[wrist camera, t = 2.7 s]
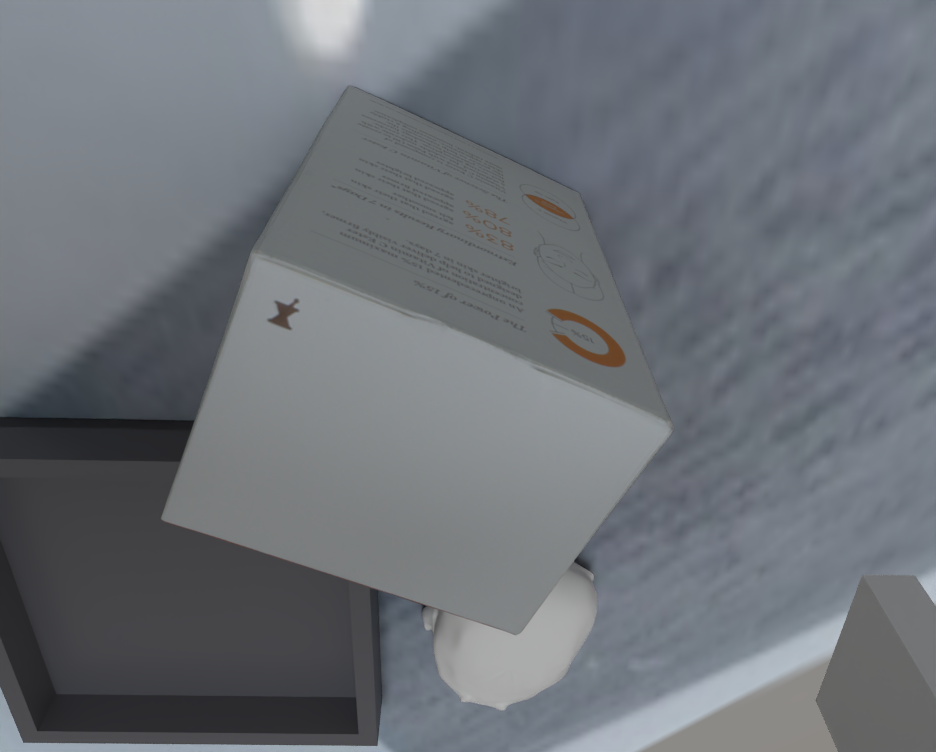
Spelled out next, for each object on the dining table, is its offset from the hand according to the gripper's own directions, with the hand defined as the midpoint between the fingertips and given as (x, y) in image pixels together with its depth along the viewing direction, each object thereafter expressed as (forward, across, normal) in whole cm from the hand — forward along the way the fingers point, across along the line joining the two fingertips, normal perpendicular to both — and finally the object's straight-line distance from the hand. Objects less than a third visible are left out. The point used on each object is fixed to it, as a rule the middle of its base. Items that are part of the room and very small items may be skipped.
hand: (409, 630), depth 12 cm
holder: (+16, -10, -15) cm, 25 cm away
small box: (+17, 0, 0) cm, 17 cm away
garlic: (+17, +3, -16) cm, 24 cm away
